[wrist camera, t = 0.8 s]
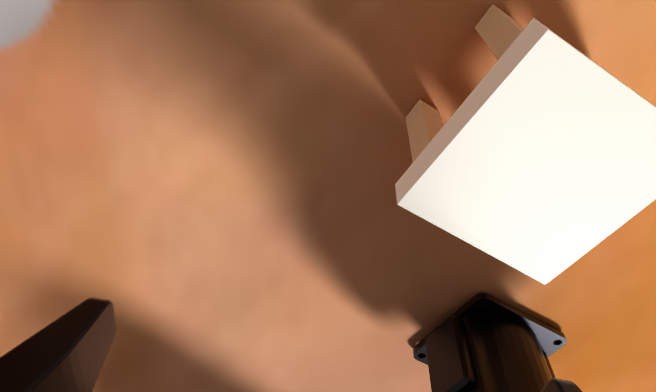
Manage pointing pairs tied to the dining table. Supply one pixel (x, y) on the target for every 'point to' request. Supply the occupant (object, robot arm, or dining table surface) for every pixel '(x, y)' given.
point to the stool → (533, 153)
